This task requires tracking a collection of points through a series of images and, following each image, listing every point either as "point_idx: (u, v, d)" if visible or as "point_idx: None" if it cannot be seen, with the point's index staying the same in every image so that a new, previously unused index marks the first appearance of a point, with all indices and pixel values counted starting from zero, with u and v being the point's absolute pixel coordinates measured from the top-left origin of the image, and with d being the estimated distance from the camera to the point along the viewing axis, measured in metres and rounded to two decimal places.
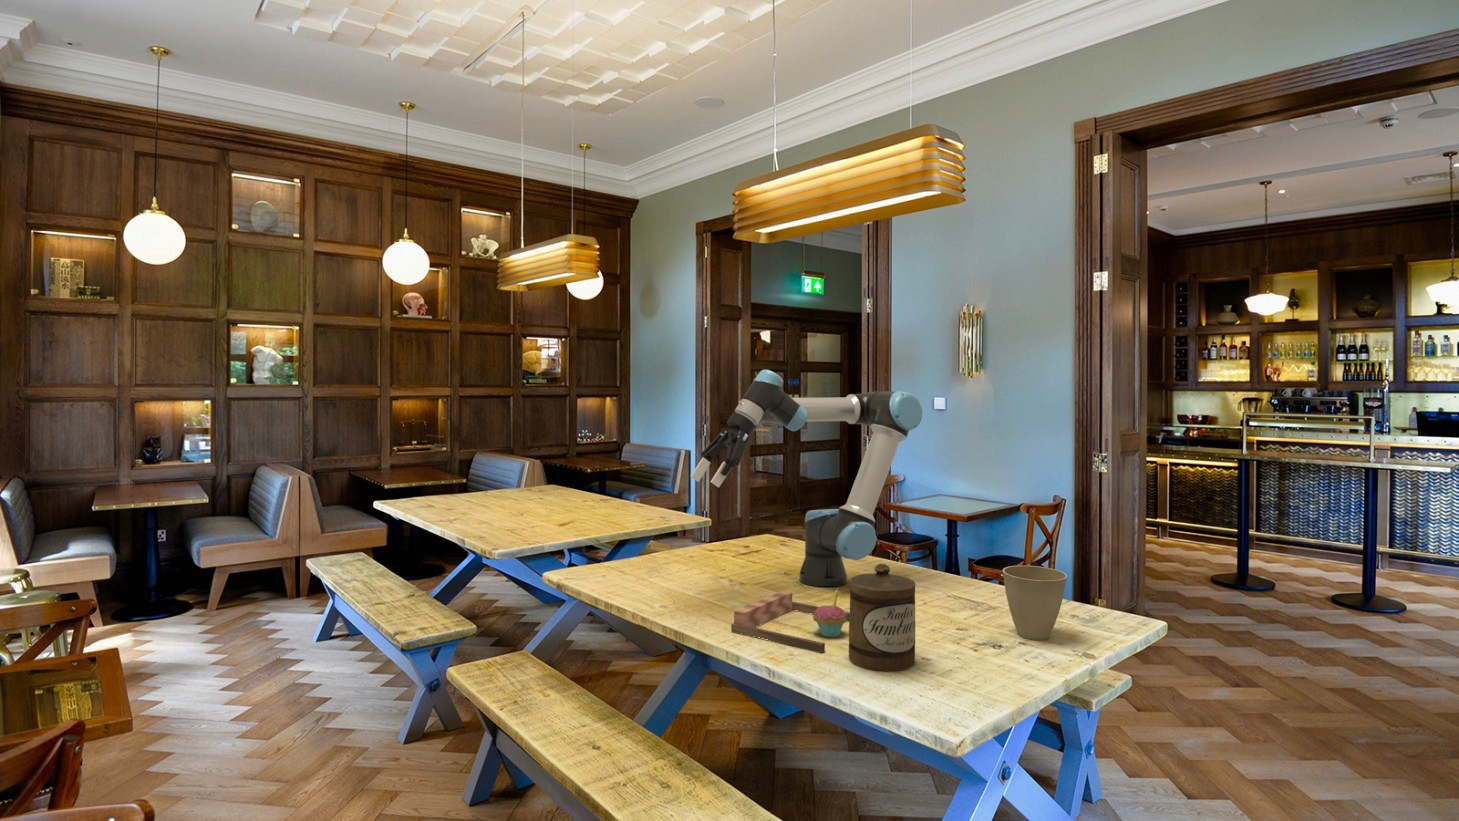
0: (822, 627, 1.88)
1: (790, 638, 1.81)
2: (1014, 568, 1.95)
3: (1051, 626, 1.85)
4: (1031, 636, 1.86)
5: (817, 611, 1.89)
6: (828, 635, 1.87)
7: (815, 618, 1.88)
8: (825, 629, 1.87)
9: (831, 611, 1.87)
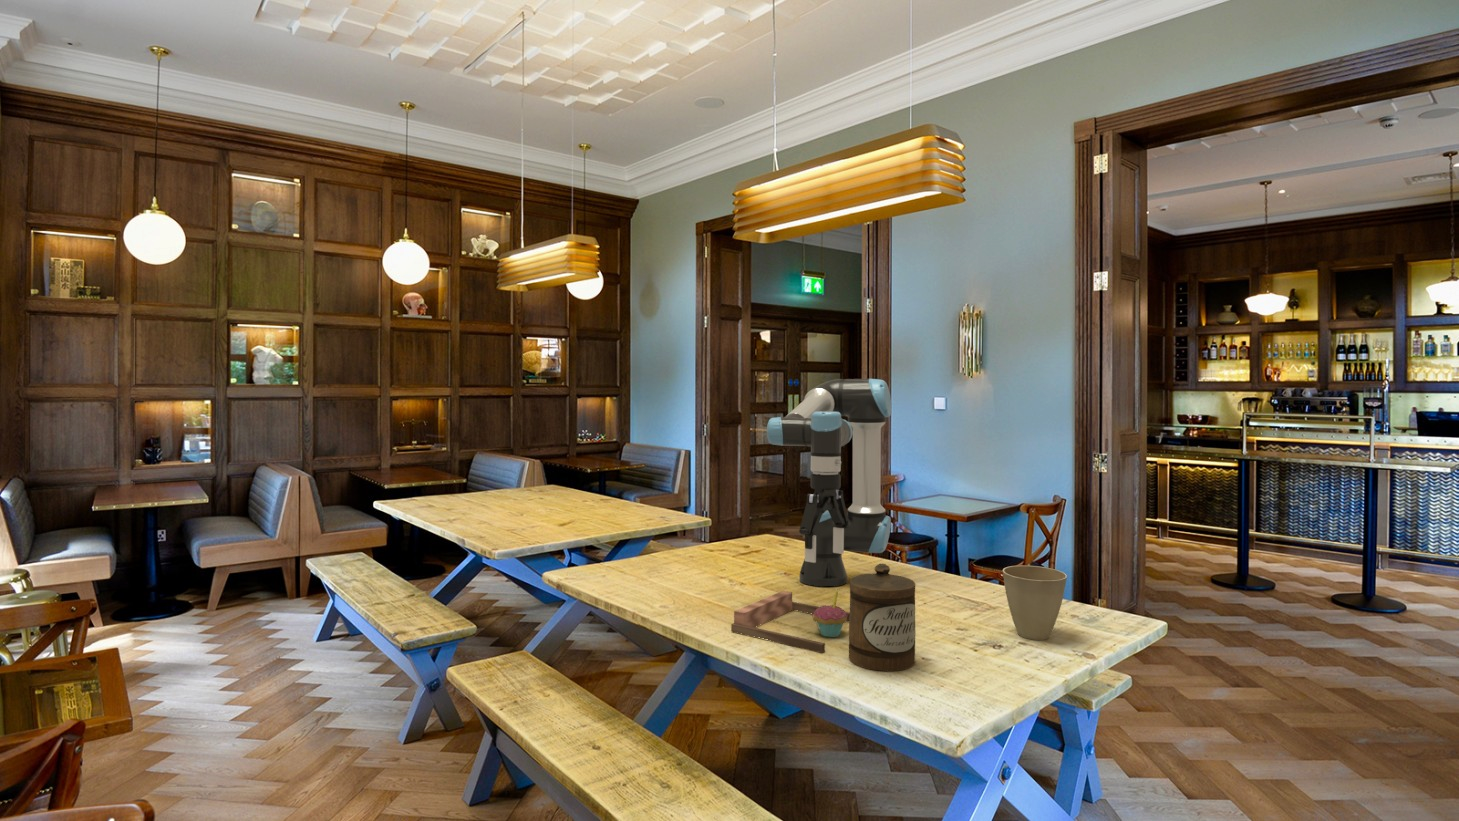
0: (822, 627, 1.88)
1: (790, 638, 1.81)
2: (1014, 568, 1.95)
3: (1051, 626, 1.85)
4: (1031, 636, 1.86)
5: (817, 611, 1.89)
6: (828, 635, 1.87)
7: (815, 618, 1.88)
8: (825, 629, 1.87)
9: (831, 611, 1.87)
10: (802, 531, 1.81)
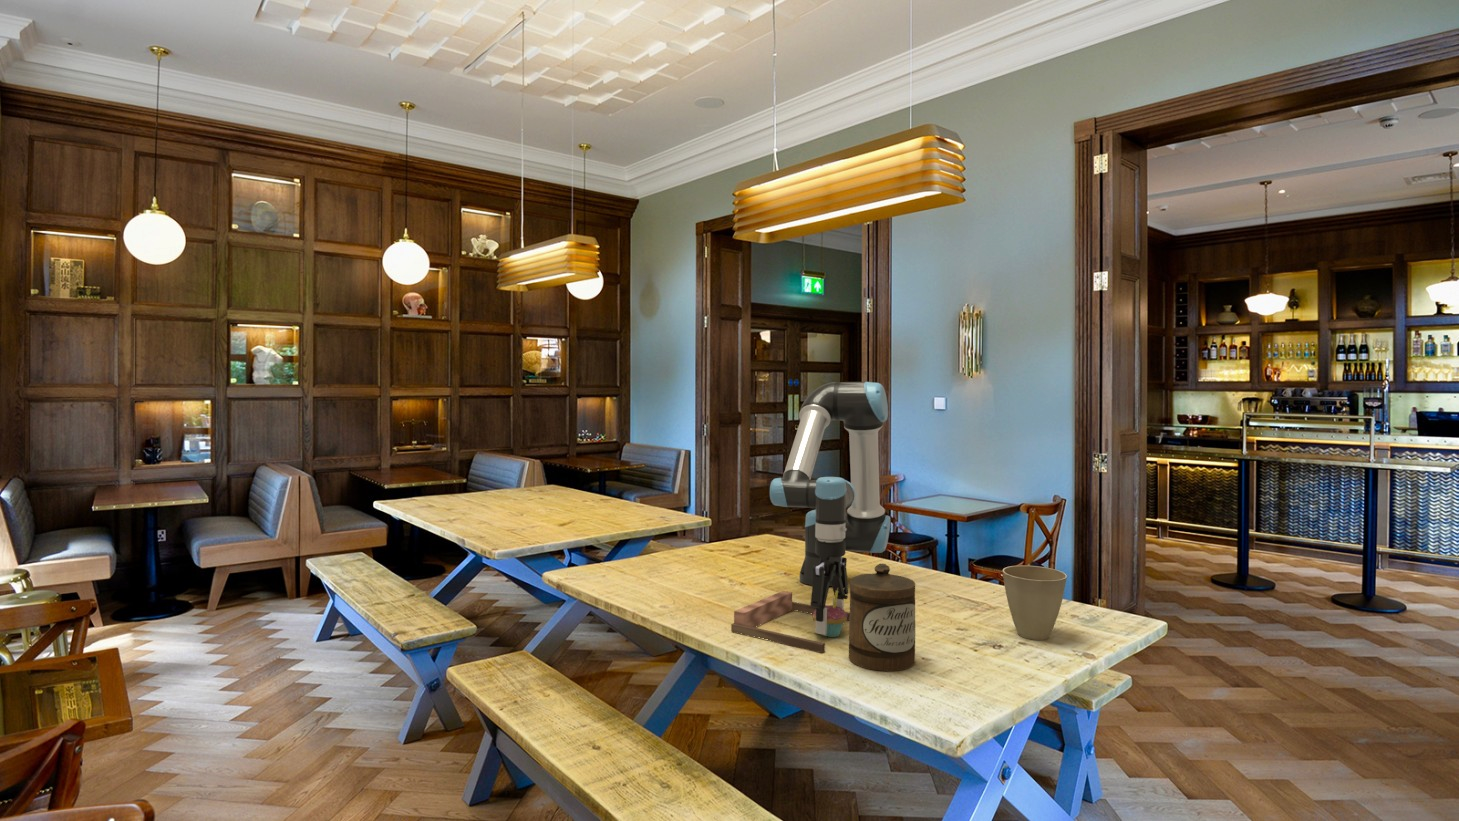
0: None
1: (790, 638, 1.81)
2: (1014, 568, 1.95)
3: (1051, 626, 1.85)
4: (1031, 636, 1.86)
5: None
6: (828, 635, 1.87)
7: (814, 618, 1.88)
8: None
9: (831, 611, 1.87)
10: (813, 605, 1.83)
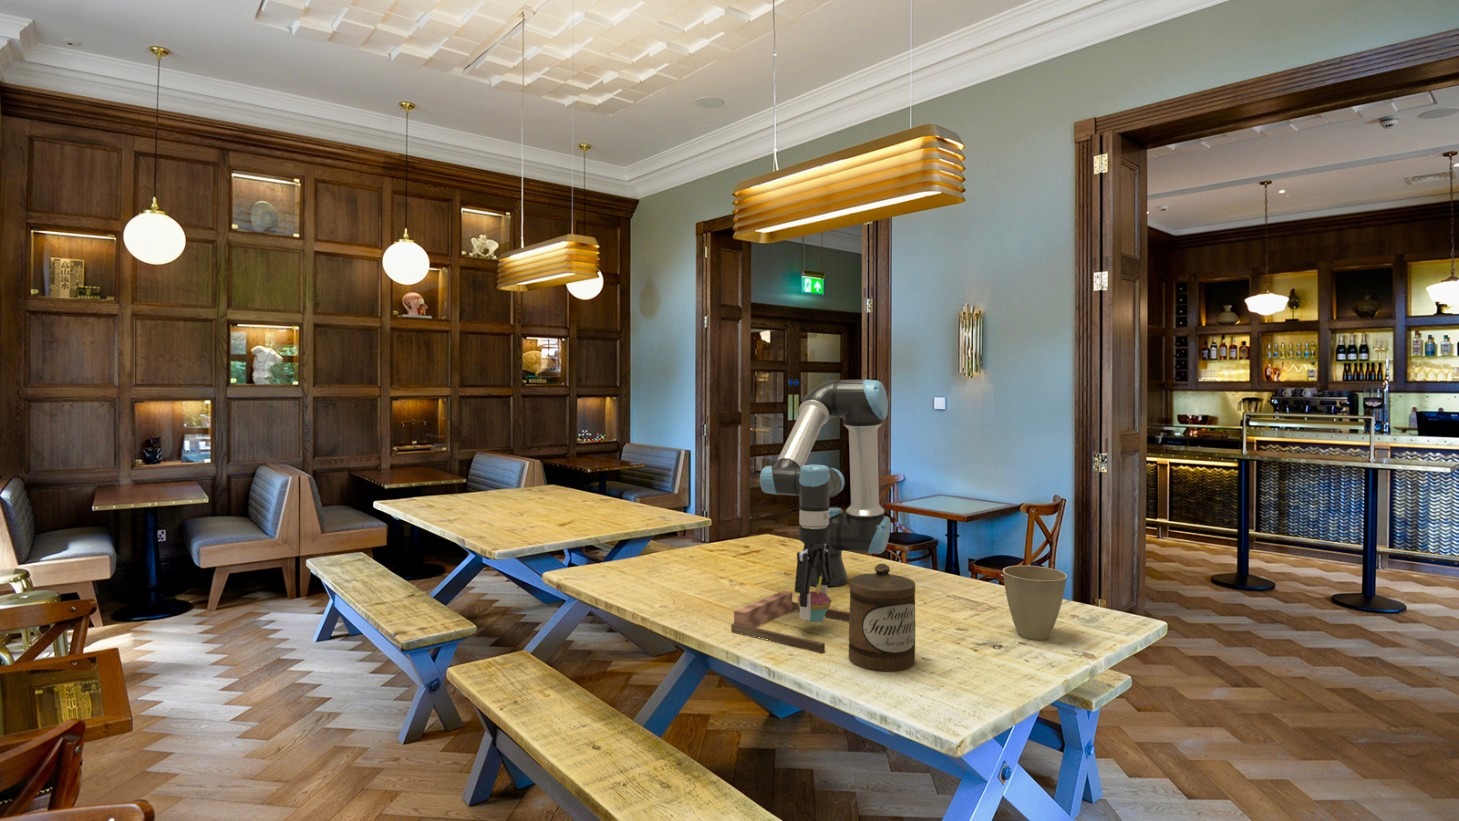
0: None
1: (790, 638, 1.81)
2: (1014, 568, 1.95)
3: (1051, 626, 1.85)
4: (1031, 636, 1.86)
5: None
6: (812, 620, 1.90)
7: (799, 604, 1.90)
8: None
9: (815, 597, 1.90)
10: (797, 590, 1.86)
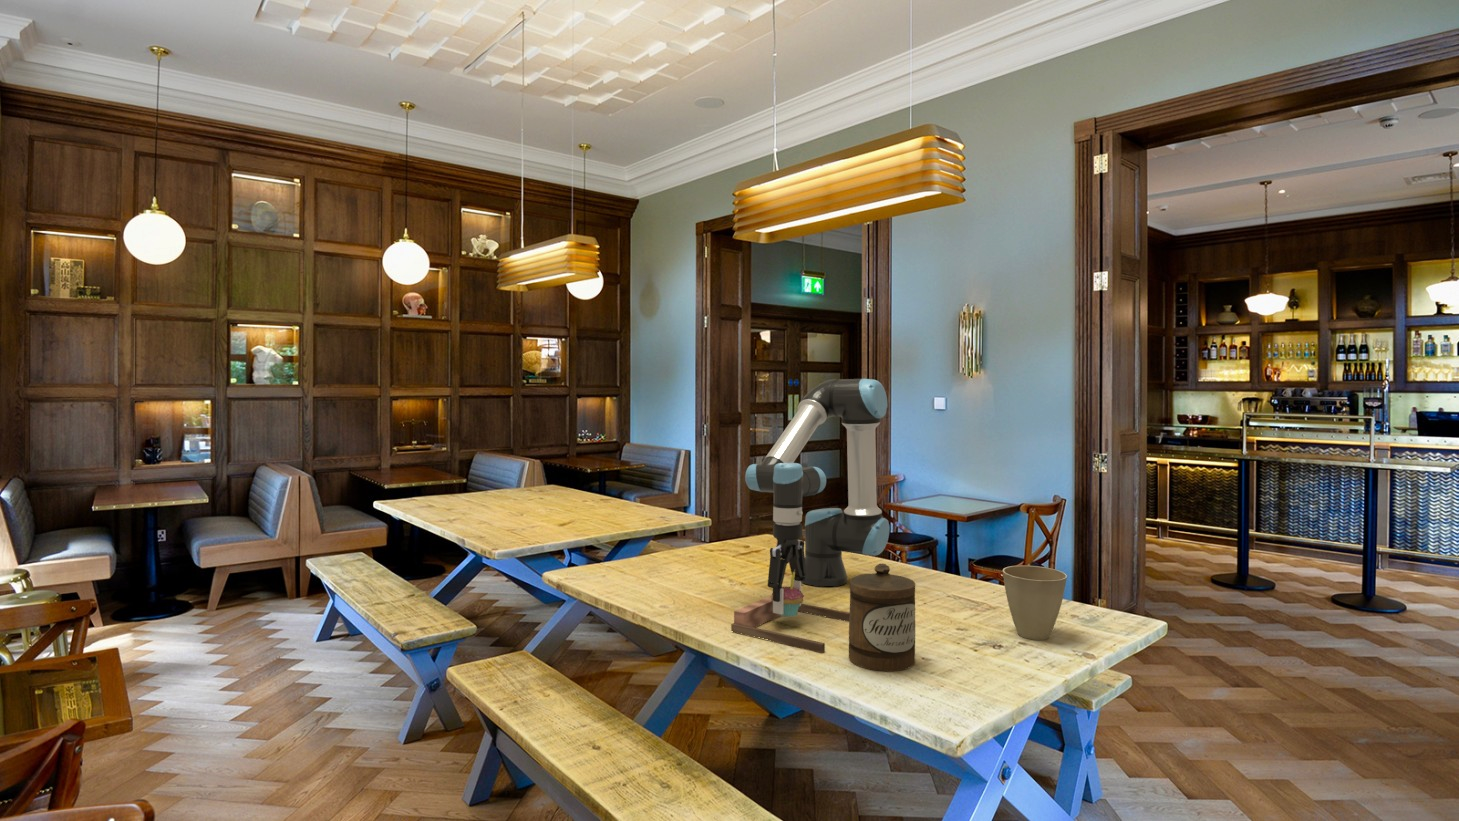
0: None
1: (790, 638, 1.81)
2: (1014, 568, 1.95)
3: (1051, 626, 1.85)
4: (1031, 636, 1.86)
5: None
6: (785, 615, 1.94)
7: (772, 598, 1.95)
8: None
9: (788, 592, 1.94)
10: (770, 585, 1.90)
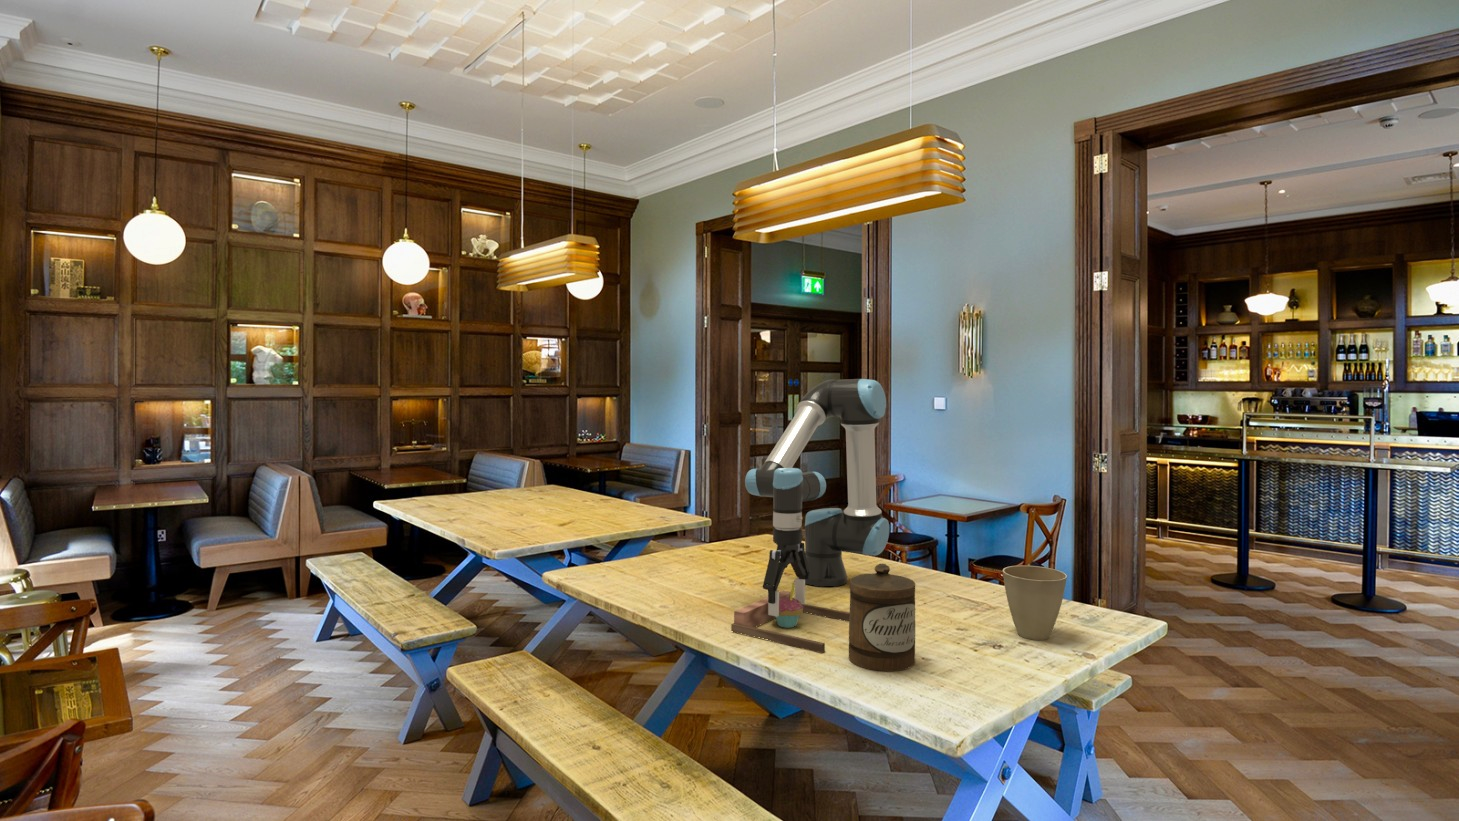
0: (779, 618, 1.95)
1: (790, 638, 1.81)
2: (1014, 568, 1.95)
3: (1051, 626, 1.85)
4: (1031, 636, 1.86)
5: None
6: (785, 626, 1.94)
7: None
8: (782, 620, 1.94)
9: (787, 603, 1.94)
10: (765, 587, 1.88)
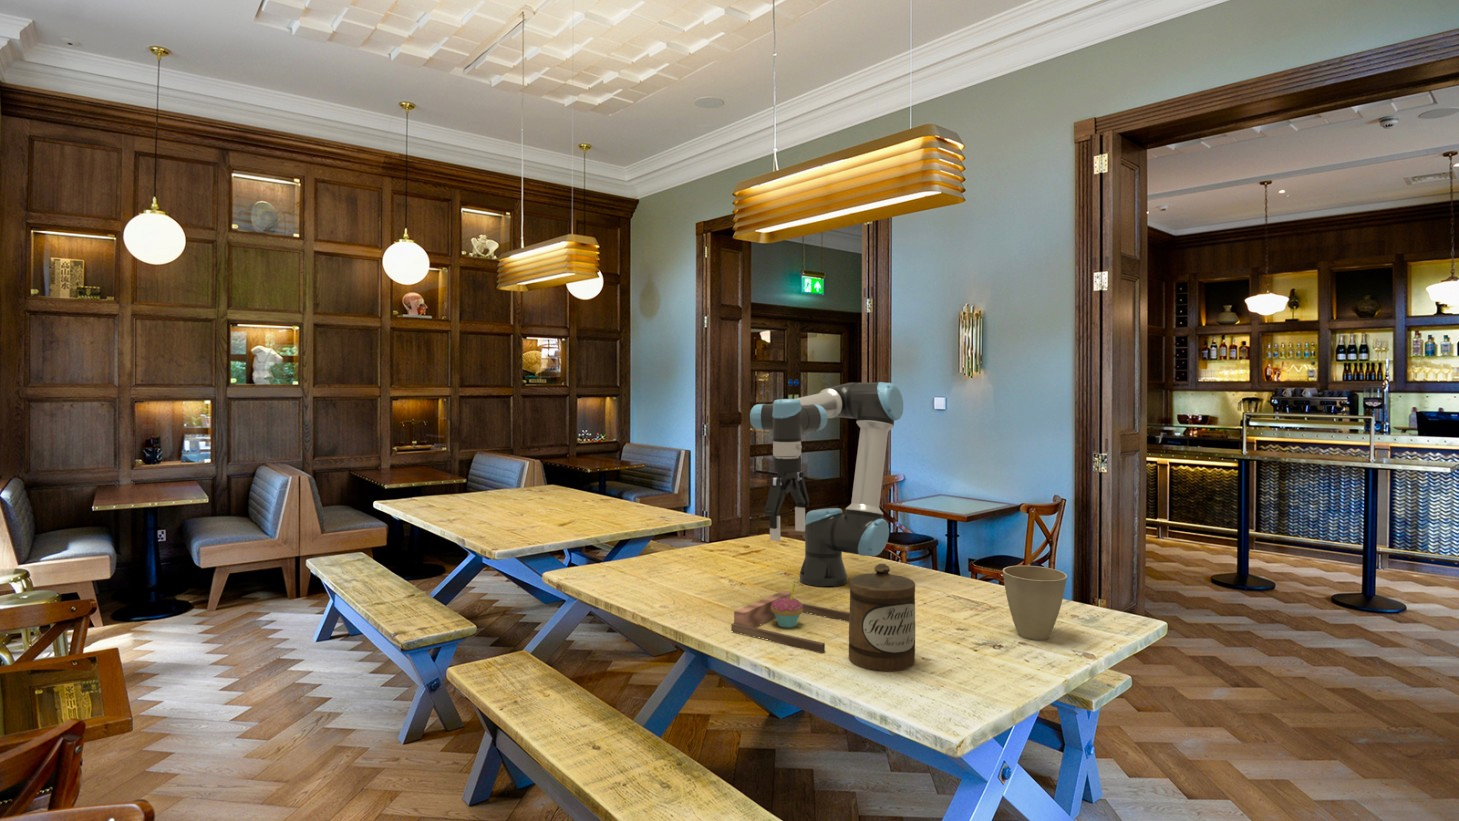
0: (779, 618, 1.95)
1: (790, 638, 1.81)
2: (1014, 568, 1.95)
3: (1051, 626, 1.85)
4: (1031, 636, 1.86)
5: (774, 603, 1.95)
6: (785, 626, 1.94)
7: (772, 610, 1.95)
8: (782, 620, 1.94)
9: (788, 603, 1.94)
10: (767, 512, 1.94)
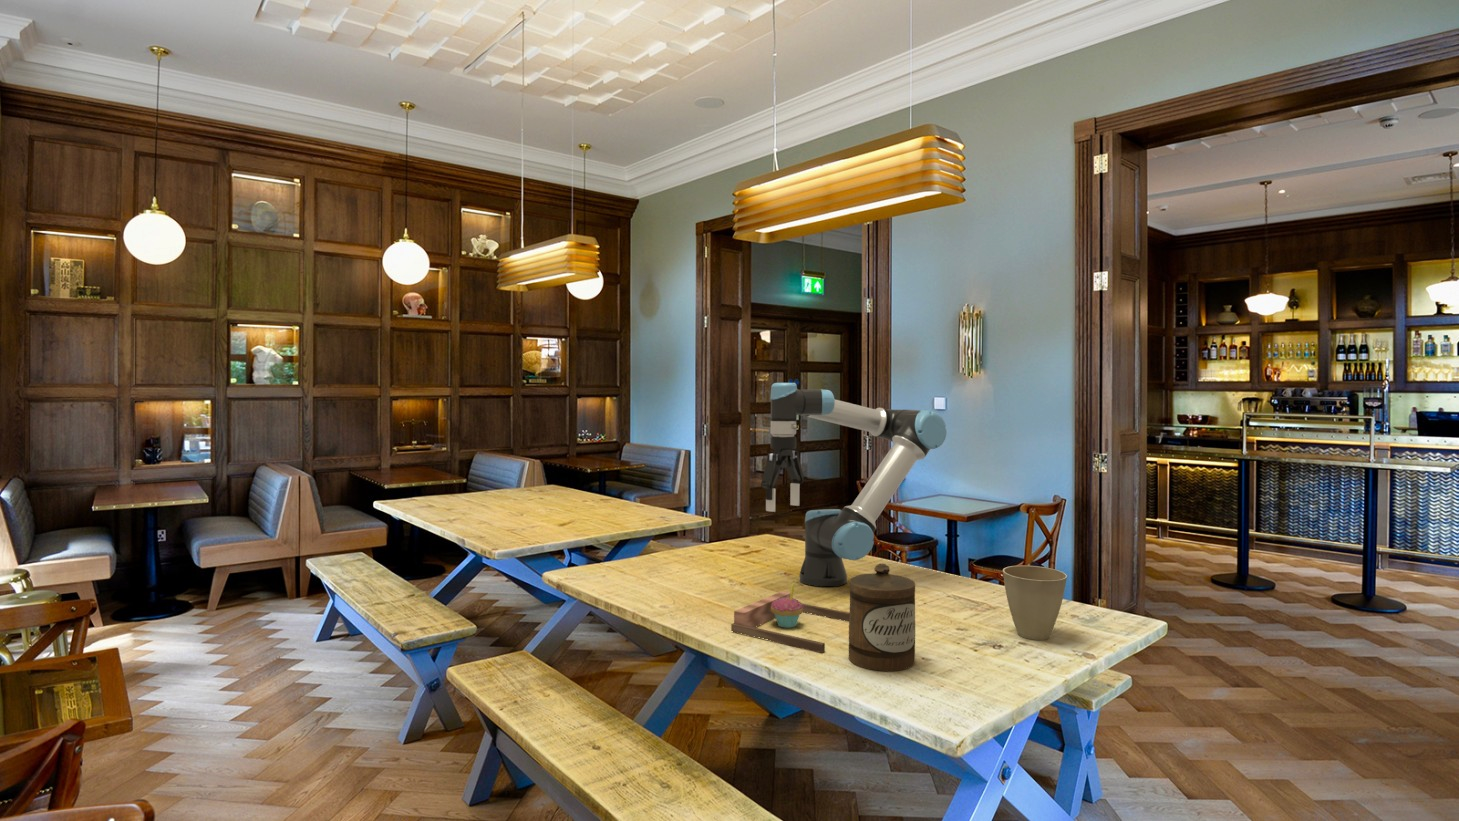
0: (779, 618, 1.95)
1: (790, 638, 1.81)
2: (1014, 567, 1.95)
3: (1051, 626, 1.85)
4: (1031, 636, 1.86)
5: (774, 603, 1.95)
6: (785, 626, 1.94)
7: (772, 610, 1.95)
8: (782, 620, 1.94)
9: (787, 603, 1.94)
10: (763, 485, 2.12)
